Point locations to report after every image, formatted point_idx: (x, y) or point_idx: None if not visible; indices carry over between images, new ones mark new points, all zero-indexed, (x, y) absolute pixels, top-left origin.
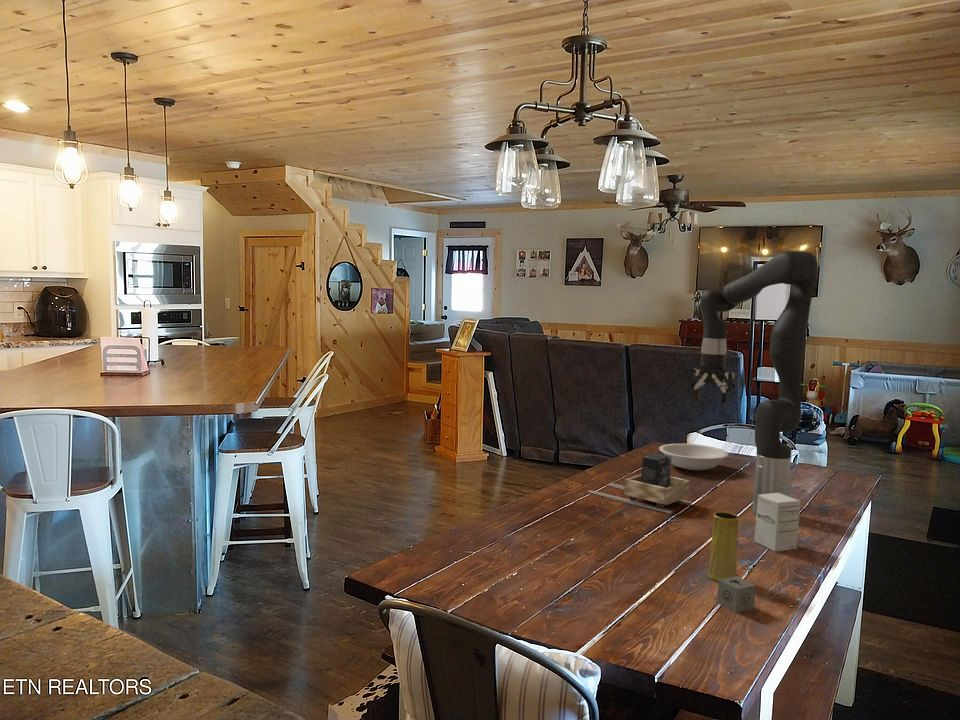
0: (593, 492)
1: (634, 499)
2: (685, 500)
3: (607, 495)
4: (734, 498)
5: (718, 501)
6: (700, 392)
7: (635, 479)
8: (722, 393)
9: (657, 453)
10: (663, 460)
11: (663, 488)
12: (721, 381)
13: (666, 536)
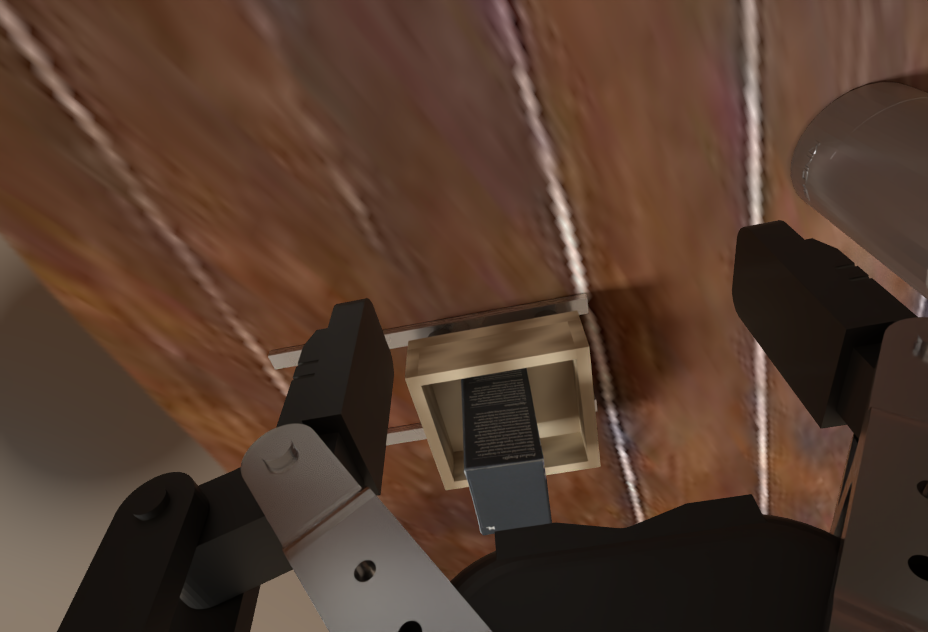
0: None
1: None
2: (562, 302)
3: (386, 442)
4: (664, 76)
5: (634, 181)
6: (356, 394)
7: (445, 450)
8: (830, 420)
9: (475, 471)
10: (548, 496)
11: (584, 468)
12: (906, 544)
13: (677, 503)
